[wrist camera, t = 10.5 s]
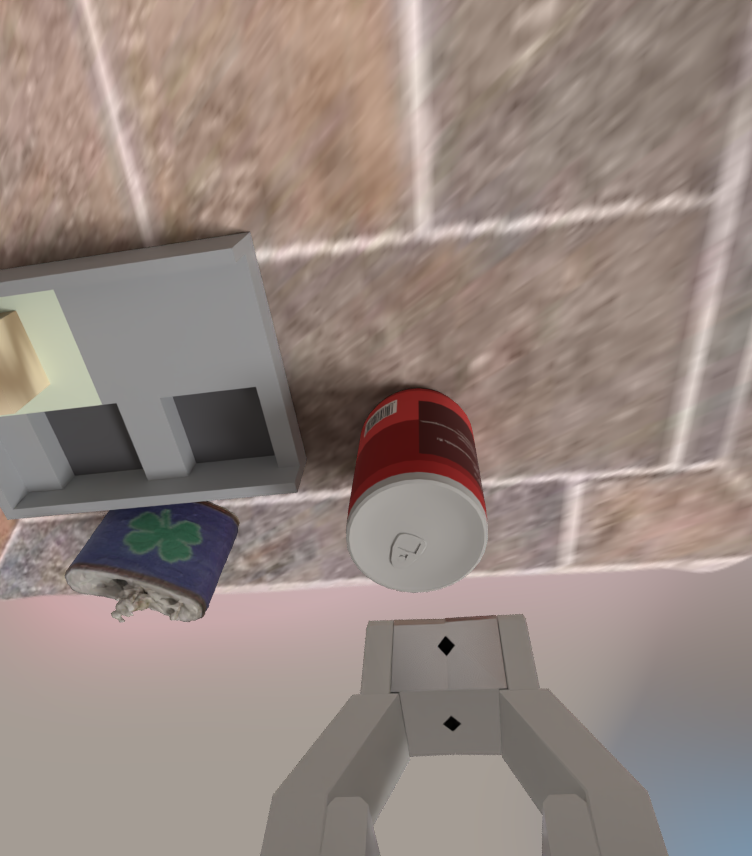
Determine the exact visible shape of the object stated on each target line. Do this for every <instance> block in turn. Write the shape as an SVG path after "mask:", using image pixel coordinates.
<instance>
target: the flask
mask: <svg viewBox="0 0 752 856" xmlns="http://www.w3.org/2000/svg"><path fill="white" fill-rule="evenodd" d="M238 526H239V519H238V517H236V516H235V515H234V513H233V512H230V511H228V510H227V509H225V508H223V507H220V506H218V505H215V504H213V503H211V502H206V501H201V502H190V503H180V504H169V505H158V506H148V507H137V508H126V509H116V510H109V512H108V513H107V515H106V516H105V517H104V519H103V520H102V522H101V523H100V525H99V526H98V527H97V529H96V530H95V531H94V533H93V534H92V536H91V537H90V539H89V540H88V541H87V543H86V544H85V546H84V547H83V549H82V550H81V551H80V553H79V554H78V555H77V557H76V558H75V560H74V561H73V563H72V564H71V565H70V566H69V568H68V570H67V571H66V574H65V579H66V581H67V584H68V585H69V586H70V587H71V589H72V590H74V591H77V592H79V593H83V594H89V595H96V596H104V597H107V598H113V599H115V600H117V601H118V600H120V601H119V602H118V603H117V604H116V611H113V612H112V613H111V615H112V617H113V618H115V619H118V620H119V622H125V620H124V619H123V618H122V617H121V616H122V615H124V616H127V617H130V615H132V616H133V613H132V612H133V611H137V610H141V611H142V610H144V609H147V608H150V609H151V610H156V611H159V612H160V613H162V614H164V615H168V616H169V617H170V620H180V621H183V622H190V621H192V620H197V619H199V618H202V617H203V616H204V615H205V611H206V610H207V608H208V607H209V603H210V600H211V598H212V596H213V593H214V591H215V588H216V586H217V583H218V580H219V577H220V574H221V572H222V570H223V567H224V565H225V563H226V561H227V558H228V555H229V553H230V551H231V549H232V546H233V543H234V540H235V539H236V536H237V533H238Z"/></svg>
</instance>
